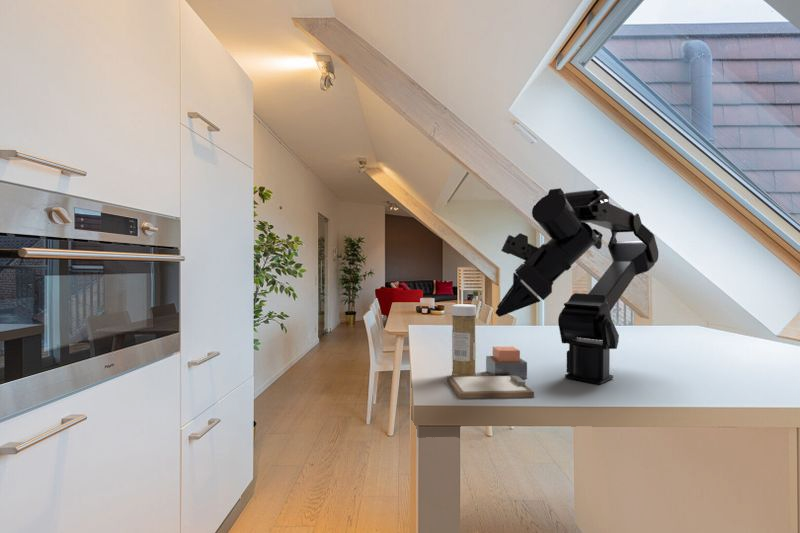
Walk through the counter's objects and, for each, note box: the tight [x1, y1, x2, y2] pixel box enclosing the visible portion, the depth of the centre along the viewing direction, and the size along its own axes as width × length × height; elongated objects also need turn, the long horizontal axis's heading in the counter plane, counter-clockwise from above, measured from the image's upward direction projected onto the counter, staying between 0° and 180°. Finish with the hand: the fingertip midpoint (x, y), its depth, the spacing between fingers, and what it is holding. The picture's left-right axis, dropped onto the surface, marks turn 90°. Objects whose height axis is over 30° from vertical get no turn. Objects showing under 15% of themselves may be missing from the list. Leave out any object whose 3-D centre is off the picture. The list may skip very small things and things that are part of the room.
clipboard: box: [446, 375, 535, 400], centre depth 76 cm, size 12×10×2 cm
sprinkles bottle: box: [451, 303, 477, 376], centre depth 84 cm, size 5×5×14 cm
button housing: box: [485, 355, 528, 380], centre depth 85 cm, size 6×6×3 cm
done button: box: [492, 345, 521, 362], centre depth 85 cm, size 4×4×3 cm
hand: (498, 311), depth 82 cm, fingers open, 9 cm apart
